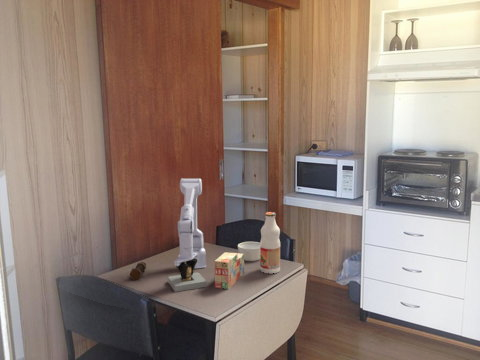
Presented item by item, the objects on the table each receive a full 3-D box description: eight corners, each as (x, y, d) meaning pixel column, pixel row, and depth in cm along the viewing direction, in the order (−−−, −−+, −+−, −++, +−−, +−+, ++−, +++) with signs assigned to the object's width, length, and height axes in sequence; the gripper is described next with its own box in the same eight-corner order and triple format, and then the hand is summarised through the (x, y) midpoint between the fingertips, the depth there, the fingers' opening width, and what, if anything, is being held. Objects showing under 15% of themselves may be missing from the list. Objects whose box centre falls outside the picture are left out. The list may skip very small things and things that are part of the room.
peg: (188, 279, 192) (188, 265, 192) (193, 281, 189) (192, 267, 188) (180, 281, 190) (180, 266, 189) (185, 283, 187) (184, 269, 186)
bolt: (144, 272, 211) (137, 282, 196) (135, 267, 210) (127, 277, 195) (150, 262, 210) (143, 271, 195) (141, 257, 210) (133, 266, 195)
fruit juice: (277, 275, 200) (277, 215, 196) (257, 272, 203) (257, 214, 199) (282, 268, 209) (282, 211, 205) (263, 266, 212) (263, 210, 208)
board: (198, 277, 198) (198, 272, 198) (206, 286, 187) (206, 281, 187) (168, 281, 193) (168, 276, 192) (174, 291, 182) (174, 286, 181)
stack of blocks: (231, 271, 206) (231, 246, 204) (244, 272, 204) (244, 247, 202) (214, 287, 186) (214, 260, 184) (228, 289, 184) (228, 261, 182)
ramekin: (232, 259, 223) (232, 246, 222) (246, 252, 234) (246, 240, 233) (254, 264, 216) (254, 250, 215) (267, 256, 227) (268, 244, 226)
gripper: (189, 241, 196) (189, 270, 198) (168, 249, 183) (169, 280, 185) (201, 243, 192) (202, 273, 194) (181, 252, 180) (182, 283, 182)
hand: (187, 276), depth 189 cm, fingers closed on peg, 4 cm apart
